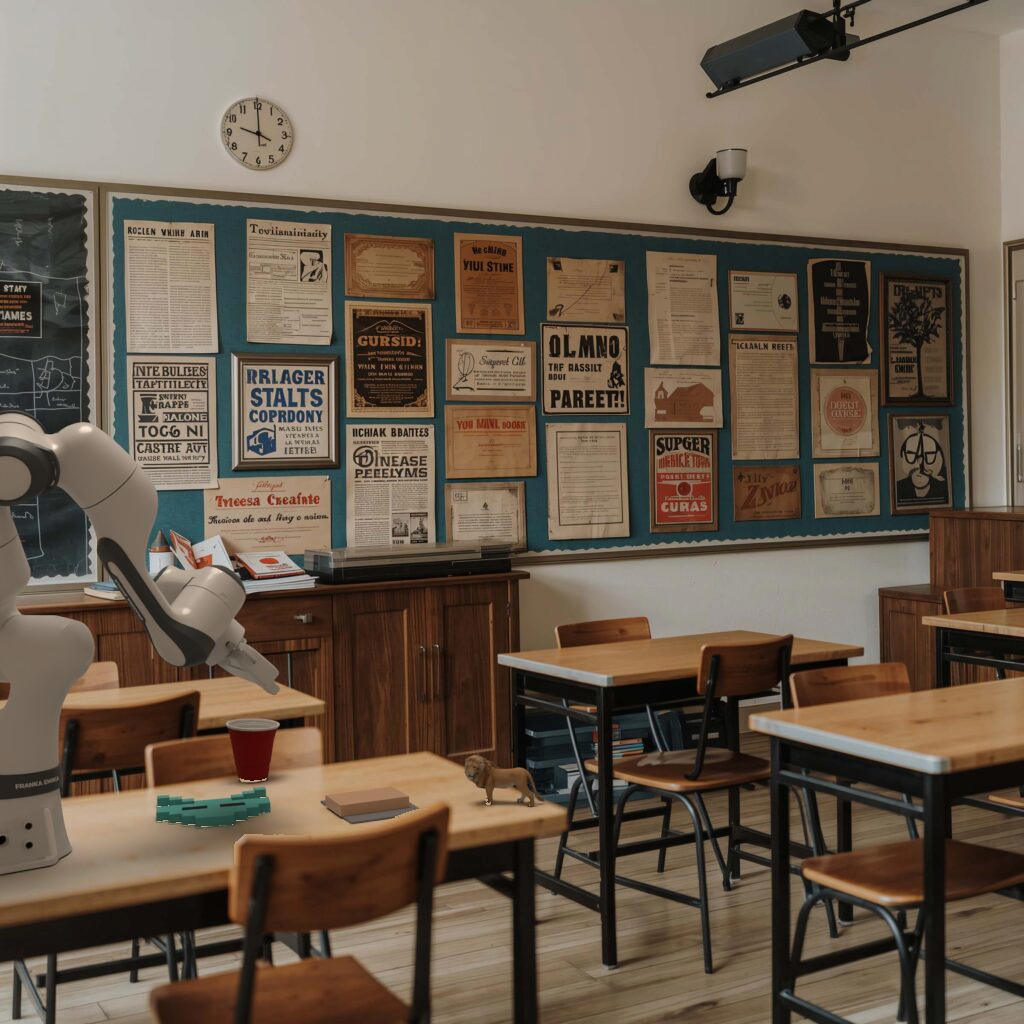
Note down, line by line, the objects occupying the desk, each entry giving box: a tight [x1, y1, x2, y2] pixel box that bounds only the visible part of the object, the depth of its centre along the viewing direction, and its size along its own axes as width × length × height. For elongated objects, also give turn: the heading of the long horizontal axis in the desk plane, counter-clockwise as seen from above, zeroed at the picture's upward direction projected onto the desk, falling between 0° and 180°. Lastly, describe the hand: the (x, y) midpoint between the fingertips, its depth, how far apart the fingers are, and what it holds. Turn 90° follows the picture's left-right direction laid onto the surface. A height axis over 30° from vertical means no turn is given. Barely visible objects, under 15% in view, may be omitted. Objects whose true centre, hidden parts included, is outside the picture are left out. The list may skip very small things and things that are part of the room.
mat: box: [320, 799, 420, 825], centre depth 225 cm, size 14×18×1 cm
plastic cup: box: [225, 718, 281, 781], centre depth 250 cm, size 11×11×12 cm
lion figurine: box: [464, 754, 546, 807], centre depth 226 cm, size 15×5×9 cm, turn 85°
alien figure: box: [155, 786, 271, 828], centre depth 224 cm, size 20×2×20 cm
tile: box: [324, 786, 410, 818], centre depth 225 cm, size 2×9×13 cm
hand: (275, 691), depth 220 cm, fingers closed
